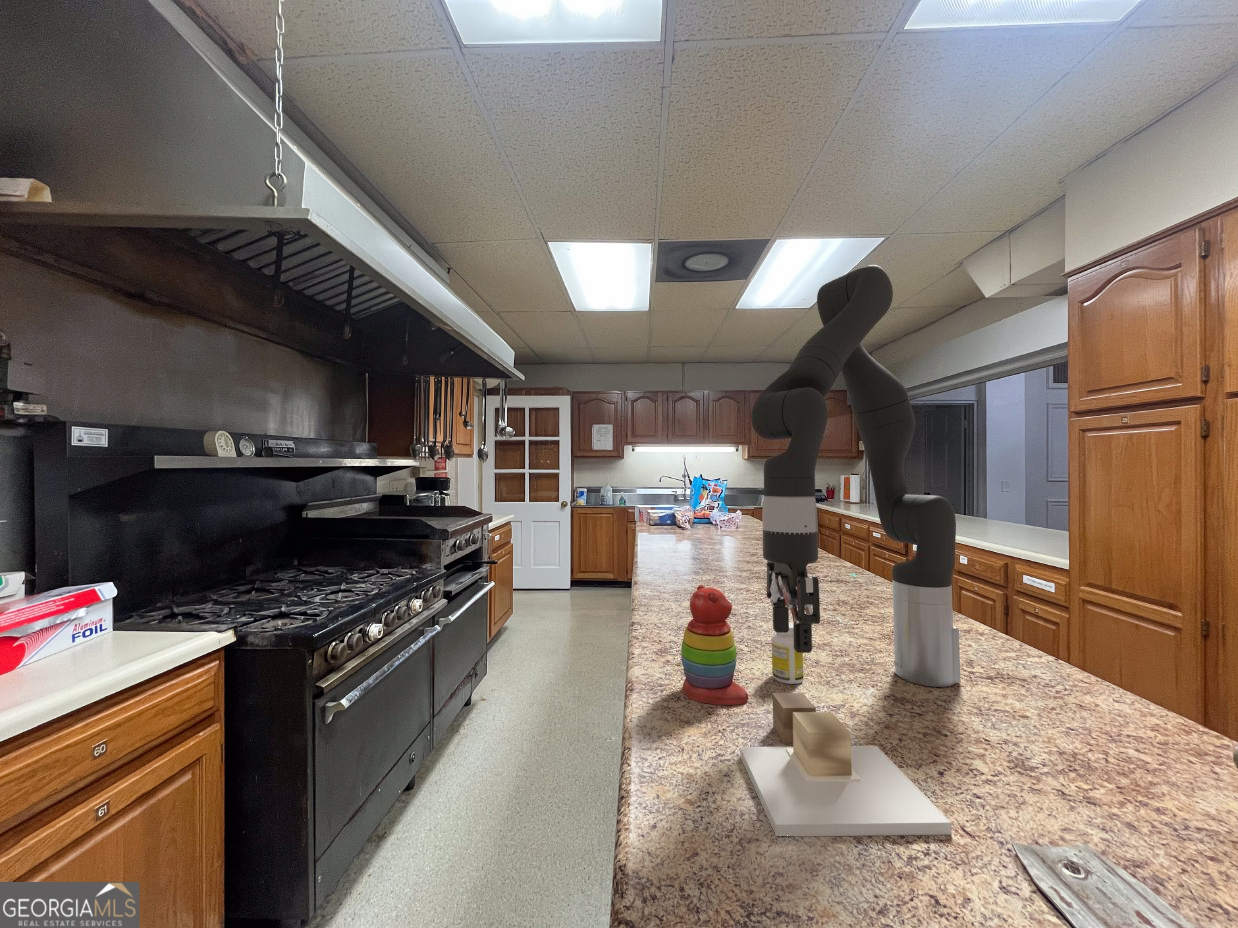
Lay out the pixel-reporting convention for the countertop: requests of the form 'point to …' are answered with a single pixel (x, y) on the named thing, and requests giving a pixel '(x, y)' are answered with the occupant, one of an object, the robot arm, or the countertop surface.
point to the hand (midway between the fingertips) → (791, 641)
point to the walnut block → (788, 713)
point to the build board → (840, 796)
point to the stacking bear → (710, 651)
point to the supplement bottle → (786, 658)
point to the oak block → (822, 744)
